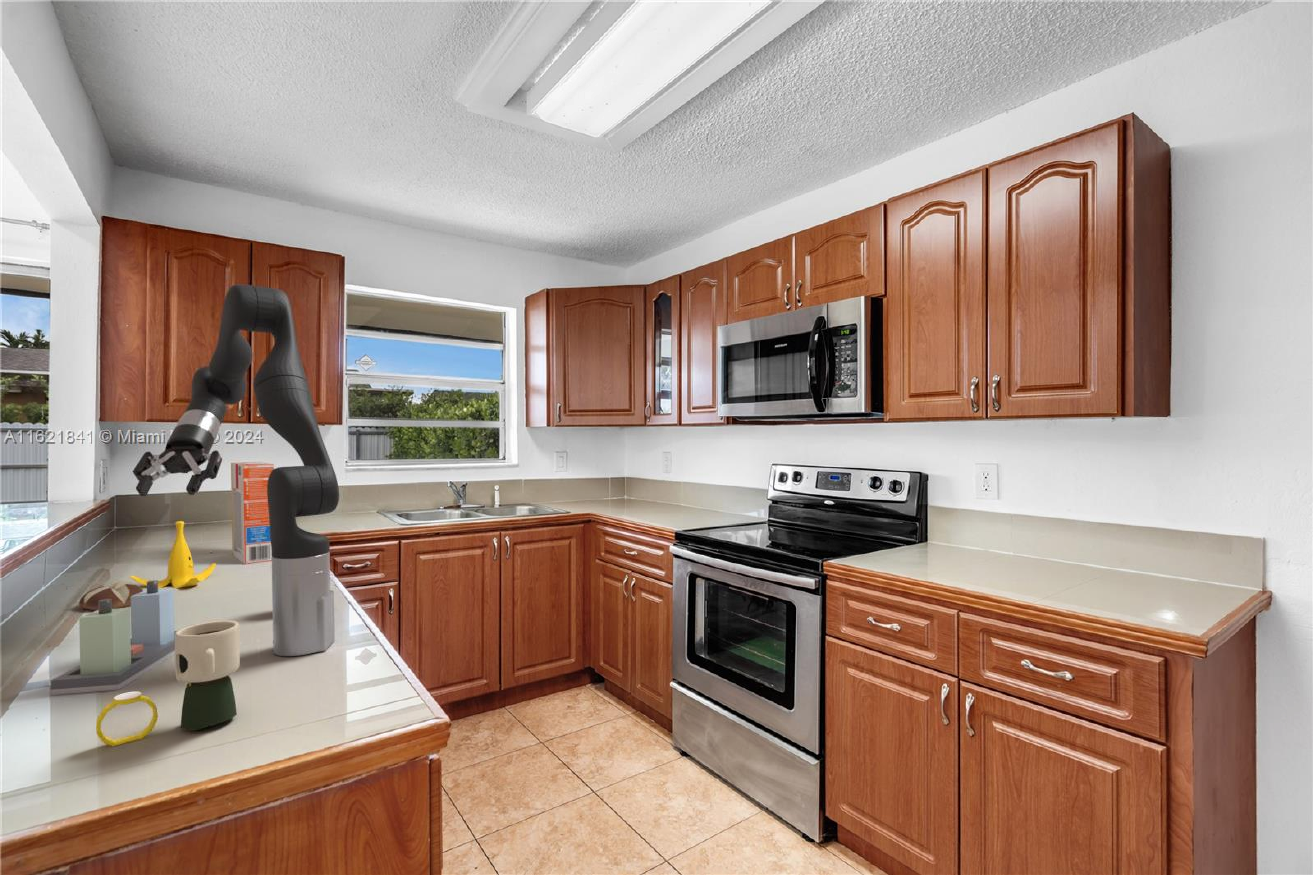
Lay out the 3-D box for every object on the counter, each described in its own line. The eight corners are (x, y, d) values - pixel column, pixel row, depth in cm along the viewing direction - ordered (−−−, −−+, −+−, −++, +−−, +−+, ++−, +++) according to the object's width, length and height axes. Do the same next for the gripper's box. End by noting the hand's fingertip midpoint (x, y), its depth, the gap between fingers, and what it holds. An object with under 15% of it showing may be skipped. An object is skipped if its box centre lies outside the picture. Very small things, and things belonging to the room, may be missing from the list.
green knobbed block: (131, 668, 104) (129, 595, 104) (113, 678, 100) (112, 603, 100) (99, 670, 104) (98, 597, 103) (80, 681, 99) (78, 604, 99)
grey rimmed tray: (195, 641, 120) (195, 625, 120) (119, 689, 98) (118, 670, 98) (141, 645, 119) (141, 629, 119) (50, 695, 96) (50, 675, 96)
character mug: (176, 716, 88) (174, 623, 88) (237, 703, 92) (236, 614, 92) (176, 747, 79) (174, 644, 79) (243, 730, 84) (242, 632, 84)
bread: (135, 597, 155) (135, 576, 155) (149, 604, 148) (149, 583, 148) (74, 607, 146) (74, 586, 146) (86, 616, 139) (85, 593, 139)
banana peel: (217, 575, 178) (216, 515, 178) (196, 590, 161) (195, 524, 160) (145, 580, 172) (144, 519, 172) (115, 597, 155) (114, 529, 154)
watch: (154, 732, 84) (157, 686, 85) (156, 739, 82) (160, 693, 83) (94, 744, 80) (98, 696, 80) (95, 752, 78) (99, 703, 78)
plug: (174, 642, 117) (173, 577, 117) (160, 650, 113) (159, 583, 113) (147, 644, 116) (145, 579, 116) (131, 652, 112) (130, 585, 112)
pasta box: (275, 560, 197) (273, 464, 197) (244, 564, 192) (243, 465, 191) (261, 550, 214) (259, 461, 214) (232, 554, 209) (230, 462, 208)
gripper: (149, 423, 133) (115, 481, 122) (225, 422, 136) (198, 479, 125) (164, 448, 138) (133, 506, 127) (236, 446, 141) (212, 503, 130)
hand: (165, 493), depth 126 cm, fingers open, 8 cm apart
